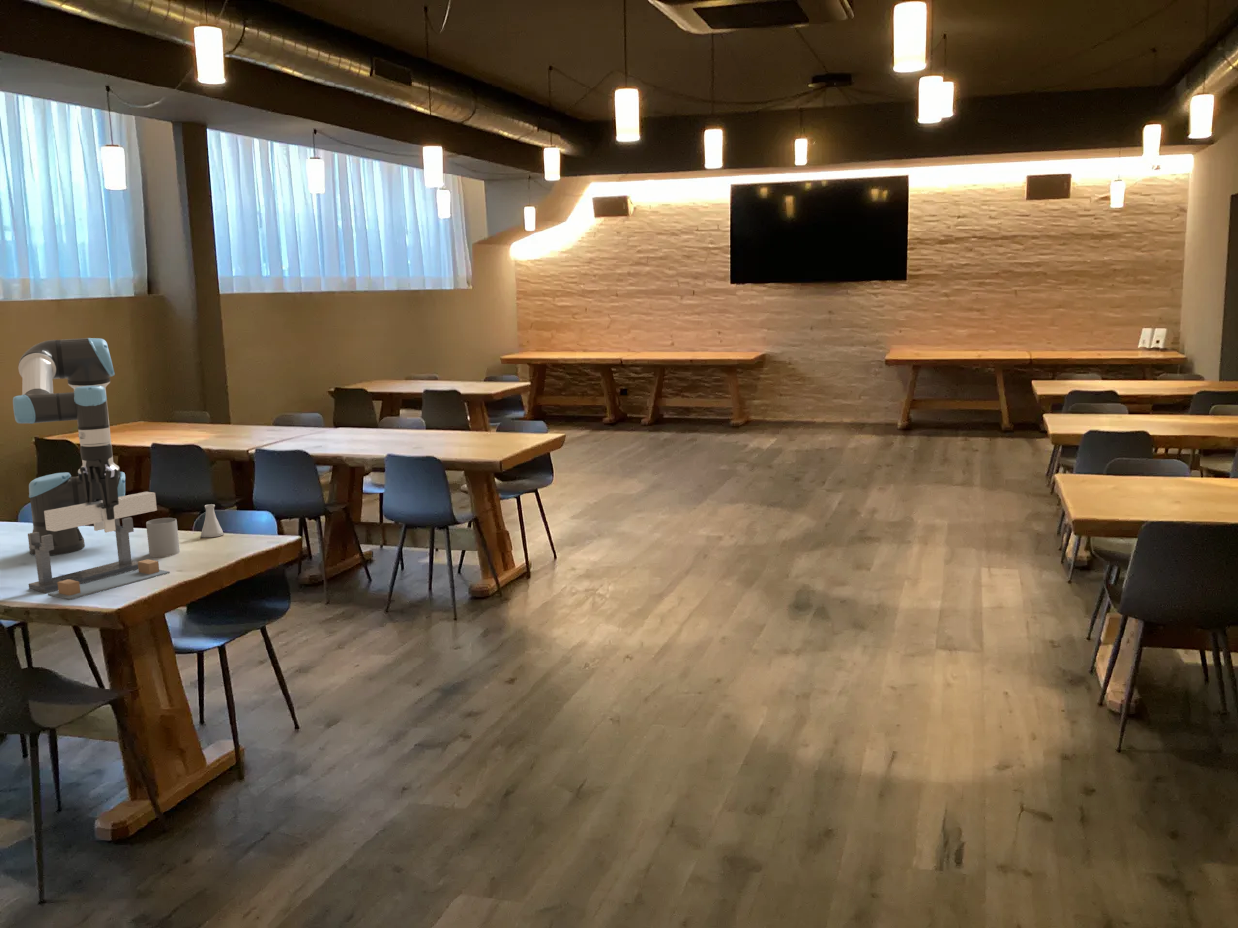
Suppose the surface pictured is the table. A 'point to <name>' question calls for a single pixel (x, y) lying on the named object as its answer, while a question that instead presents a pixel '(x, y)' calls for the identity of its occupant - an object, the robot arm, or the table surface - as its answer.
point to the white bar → (98, 511)
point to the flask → (211, 523)
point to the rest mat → (108, 581)
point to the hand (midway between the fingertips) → (105, 530)
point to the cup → (162, 537)
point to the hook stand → (84, 576)
